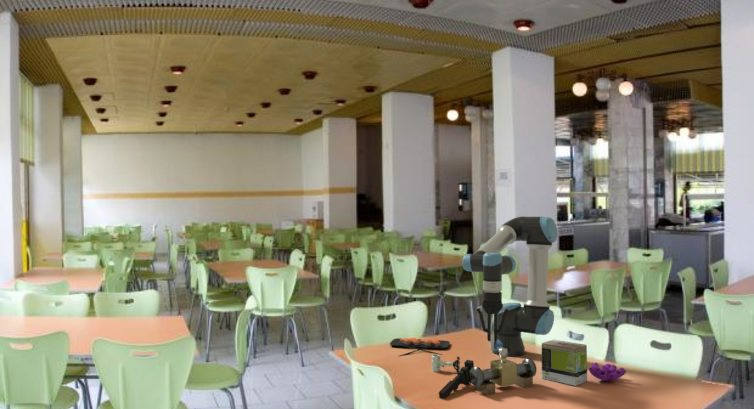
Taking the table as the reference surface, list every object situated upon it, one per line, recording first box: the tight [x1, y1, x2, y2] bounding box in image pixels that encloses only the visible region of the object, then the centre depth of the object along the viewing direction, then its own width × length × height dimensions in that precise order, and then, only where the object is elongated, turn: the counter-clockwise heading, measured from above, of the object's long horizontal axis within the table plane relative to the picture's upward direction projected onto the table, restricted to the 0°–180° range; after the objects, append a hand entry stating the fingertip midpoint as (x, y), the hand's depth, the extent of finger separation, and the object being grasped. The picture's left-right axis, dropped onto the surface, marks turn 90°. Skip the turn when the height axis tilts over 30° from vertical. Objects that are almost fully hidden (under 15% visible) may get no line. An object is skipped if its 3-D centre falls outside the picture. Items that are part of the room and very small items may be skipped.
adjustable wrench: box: [438, 359, 475, 400], centre depth 228 cm, size 8×3×25 cm
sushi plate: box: [389, 337, 451, 357], centre depth 290 cm, size 29×30×4 cm
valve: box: [430, 353, 461, 373], centre depth 252 cm, size 7×7×12 cm
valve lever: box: [494, 339, 508, 359], centre depth 237 cm, size 18×3×3 cm, turn 179°
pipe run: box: [470, 357, 537, 396], centre depth 230 cm, size 27×8×12 cm, turn 116°
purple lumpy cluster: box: [588, 362, 627, 382], centre depth 238 cm, size 11×15×10 cm
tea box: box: [541, 339, 588, 387], centre depth 239 cm, size 15×10×15 cm, turn 44°
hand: (492, 349), depth 242 cm, fingers closed
